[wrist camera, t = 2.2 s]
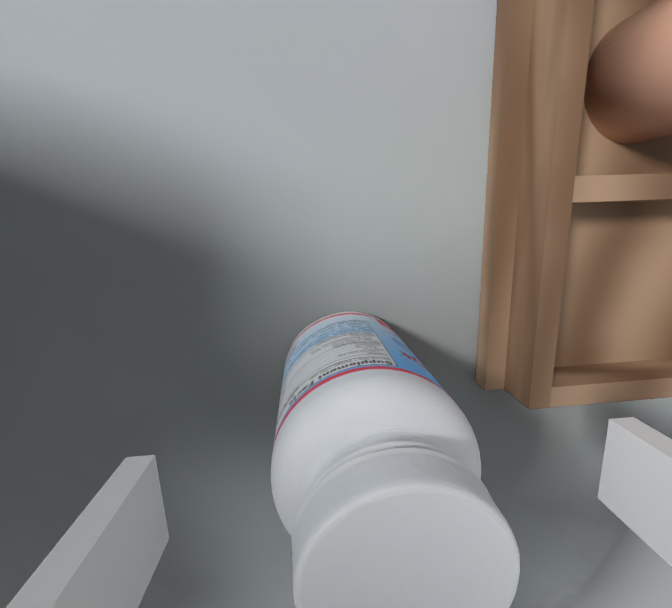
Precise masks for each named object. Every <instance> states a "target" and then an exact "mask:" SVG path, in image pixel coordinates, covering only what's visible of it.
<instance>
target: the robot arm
mask: <svg viewBox="0 0 672 608" xmlns="http://www.w3.org/2000/svg"><path fill="white" fill-rule="evenodd" d="M598 499H599V500H600V501H601V502H602V503H604V504H605V505H606V506H607V507H608V508H609V509H610V510H611V511H612V512H613V513H614V514H615V515H616V516H617V517H618V518H620V519H621V520H622V521H623V522H624V523H625V524H626V525H627V526H628V527H629V528H630V529H631V530H632V531H633V532H635V533H636V534H637V535H638V536H639V537H640V538H641V539H642V540H643V541H644V542H645V543H646V544H647V545H648V546H649V547H650V548H652V549H653V550H654V551H655V552H656V553H657V554H658V555H659V556H660V557H661V558H662V559H663V560H664V561H665V562H666V563H668V564H669V565H670V566H671V567H672V439H670V438H669V437H667V436H665V435H663V434H662V433H660V432H658V431H657V430H655V429H653V428H652V427H650V426H648V425H646V424H645V423H643V422H641V421H640V420H638V419H636V418H634V417H626V418H614V419H609V424H608V430H607V437H606V444H605V451H604V458H603V464H602V471H601V478H600V485H599V491H598ZM168 540H169V533H168V527H167V521H166V515H165V509H164V504H163V498H162V492H161V486H160V481H159V475H158V469H157V463H156V457H155V455H146V456H134V457H126V458H125V459H124V460H123V462H122V463H121V464H120V465H119V467H118V468H117V469H116V470H115V472H114V473H113V474H112V475H111V477H110V478H109V479H108V480H107V482H106V483H105V484H104V485H103V487H102V488H101V489H100V490H99V492H98V493H97V494H96V495H95V497H94V498H93V499H92V500H91V502H90V503H89V504H88V505H87V507H86V508H85V509H84V510H83V512H82V513H81V514H80V515H79V517H78V518H77V519H76V520H75V522H74V523H73V524H72V525H71V527H70V528H69V529H68V530H67V532H66V533H65V534H64V535H63V537H62V538H61V539H60V540H59V542H58V543H57V544H56V545H55V547H54V548H53V549H52V550H51V552H50V553H49V554H48V555H47V557H46V558H45V559H44V560H43V562H42V563H41V564H40V565H39V567H38V568H37V569H36V570H35V572H34V573H33V574H32V575H31V577H30V578H29V579H28V580H27V582H26V583H25V584H24V585H23V587H22V588H21V589H20V590H19V592H18V593H17V594H16V595H15V597H14V598H13V599H12V600H11V602H10V603H9V604H8V605H7V607H6V608H138V607H139V605H140V603H141V600H142V598H143V596H144V594H145V591H146V589H147V587H148V585H149V583H150V580H151V578H152V576H153V574H154V572H155V569H156V567H157V565H158V563H159V560H160V558H161V556H162V554H163V552H164V549H165V547H166V545H167V543H168Z"/></svg>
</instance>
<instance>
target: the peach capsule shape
mask: <svg viewBox="0 0 672 608" xmlns="http://www.w3.org/2000/svg"><path fill="white" fill-rule="evenodd" d="M584 104H585V108H586V112H587V115H588V117H589V119H590V121H591V123H592V124H593V126H594V127H595V128H596V130H597V131H598V132H599V133H600V134H602V135H603V136H604V137H605V138H607V139H609V140H611V141H613V142H616V143H621V144H636V143H640V142H645V141H649V140H653V139H657V138H661V137H665V136H669V135H672V0H654V1H653V2H651V3H649V4H648V5H646V6H645V7H643V8H642V9H640V10H639V11H637V12H635V13H634V14H632V15H631V16H629V17H628V18H626V19H624V20H623V21H621V22H620V23H618V24H617V25H616V26H614V27H613V28H612V29H610V30H609V31H608V32H607V33H606V34H605V35H604V37H603V38H602V39H601V40H600V41H599V43H598V45H597V46H596V48H595V49H594V51H593V53H592V55H591V57H590V60H589V62H588V67H587V76H586V85H585V94H584Z"/></svg>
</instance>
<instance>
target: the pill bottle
mask: <svg viewBox="0 0 672 608" xmlns="http://www.w3.org/2000/svg"><path fill="white" fill-rule="evenodd" d="M271 488H272V495H273V500H274V503H275V507H276V510H277V512H278V515H279V517H280V519H281V521H282V523H283V525H284V527H285V528H286V530H287V532H288V533H289V534H290V535H291V537H292V543H291V545H292V557H293V575H292V582H293V598H294V604H295V608H509V607H510V605H511V603H512V601H513V599H514V597H515V594H516V591H517V586H518V582H519V577H520V554H519V549H518V546H517V543H516V540H515V537H514V534H513V531H512V530H511V528H510V526H509V524H508V522H507V520H506V519H505V517H504V516H503V514H502V513H501V512H500V510H499V509H498V507H497V506H496V504H495V503H494V501H493V500H492V498H491V496H490V494H489V492H488V490H487V488H486V487H485V485H484V484H483V482H482V481H481V458H480V451H479V447H478V443H477V440H476V437H475V434H474V432H473V429H472V427H471V425H470V424H469V422H468V420H467V418H466V416H465V415H464V414H463V412H462V411H461V410H460V408H459V407H458V406H457V404H456V403H455V402H454V400H453V399H452V398H451V397H450V396H449V395H448V393H447V392H446V391H445V390H444V389H443V388H442V386H441V385H440V384H439V383H438V382H437V381H436V379H435V378H434V377H433V376H432V375H431V373H430V372H429V371H428V370H427V369H426V368H425V367H424V365H423V364H422V363H421V362H420V361H419V359H418V358H417V357H416V356H415V355H414V354H413V353H412V351H411V350H410V349H409V348H408V347H407V346H406V344H405V343H404V342H403V341H402V340H401V339H400V338H399V336H398V335H397V334H396V333H395V332H394V331H393V330H392V329H391V328H390V327H389V326H388V325H387V324H386V323H384V322H383V321H381V320H380V319H378V318H376V317H374V316H371V315H369V314H365V313H362V312H351V311H348V312H339V313H334V314H331V315H327V316H325V317H322V318H320V319H318V320H316V321H314V322H313V323H311V324H310V325H308V326H307V327H306V328H305V329H303V330H302V331H301V332H300V333H299V335H298V336H297V337H296V338H295V340H294V341H293V343H292V345H291V347H290V349H289V351H288V354H287V357H286V361H285V366H284V374H283V380H282V388H281V395H280V402H279V409H278V417H277V424H276V432H275V438H274V446H273V452H272V463H271Z"/></svg>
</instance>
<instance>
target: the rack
mask: <svg viewBox="0 0 672 608" xmlns="http://www.w3.org/2000/svg"><path fill="white" fill-rule="evenodd" d="M653 1H654V0H497V17H496V34H495V52H494V69H493V87H492V104H491V122H490V139H489V156H488V174H487V191H486V209H485V226H484V244H483V261H482V279H481V296H480V314H479V331H478V348H477V366H476V383H477V384H478V385H479V386H480V387H482V388H483V389H484V390H485V391H488V390H500V389H504V390H506V391H507V392H508V393H509V394H510V395H512V396H513V397H514V398H515V399H517V400H518V401H519V402H520V403H521V404H523V405H524V406H525V407H526V408H528V409H540V408H551V407H563V406H574V405H586V404H597V403H609V402H620V401H632V400H643V399H655V398H666V397H672V135H669V136H665V137H661V138H657V139H653V140H649V141H645V142H640V143H636V144H621V143H616V142H613V141H611V140H609V139H607V138H605V137H604V136H603V135H602V134H600V133H599V132H598V131H597V130H596V128H595V127H594V126H593V124H592V123H591V121H590V119H589V117H588V115H587V112H586V108H585V104H584V94H585V85H586V76H587V67H588V62H589V60H590V57H591V55H592V53H593V51H594V49H595V48H596V46H597V45H598V43H599V41H600V40H601V39H602V38H603V37H604V35H605V34H606V33H607V32H608V31H609V30H610V29H612V28H613V27H614V26H616V25H617V24H618V23H620V22H621V21H623V20H624V19H626V18H628V17H629V16H631V15H632V14H634V13H635V12H637V11H639V10H640V9H642V8H643V7H645V6H646V5H648V4H649V3H651V2H653Z"/></svg>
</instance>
